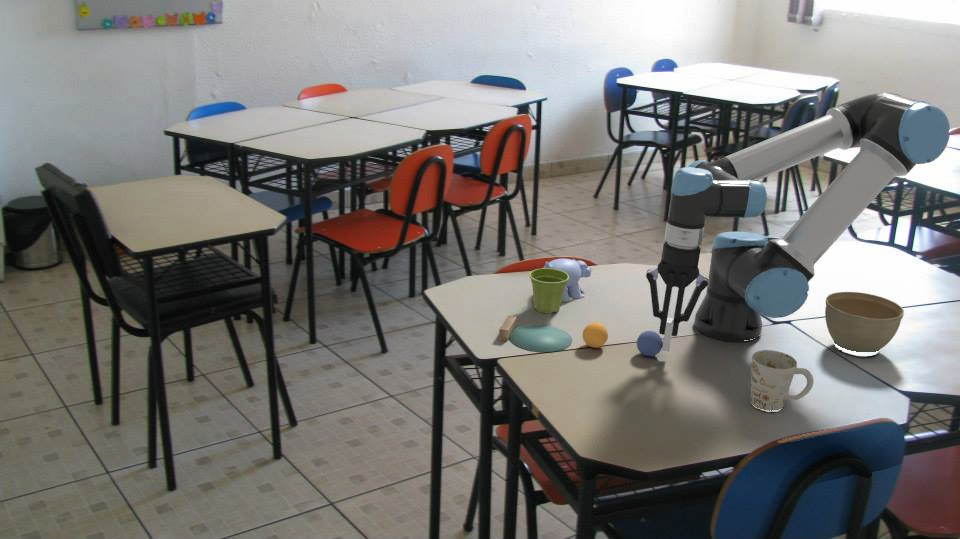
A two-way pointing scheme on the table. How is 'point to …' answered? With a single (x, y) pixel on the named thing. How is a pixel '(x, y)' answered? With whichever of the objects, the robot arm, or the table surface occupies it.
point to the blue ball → (649, 343)
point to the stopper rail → (507, 328)
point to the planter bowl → (862, 320)
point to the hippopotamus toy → (571, 276)
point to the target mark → (540, 338)
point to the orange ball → (595, 335)
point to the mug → (774, 379)
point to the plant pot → (548, 288)
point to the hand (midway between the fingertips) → (665, 348)
